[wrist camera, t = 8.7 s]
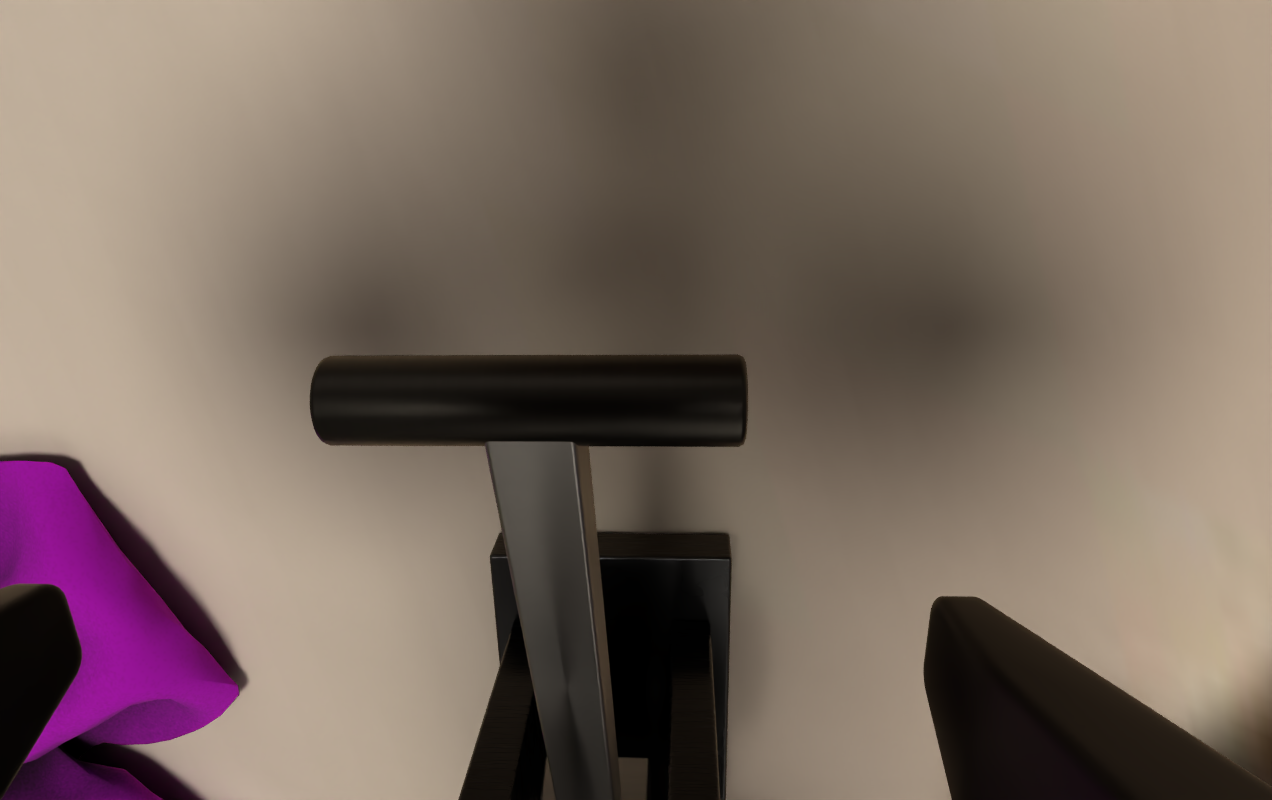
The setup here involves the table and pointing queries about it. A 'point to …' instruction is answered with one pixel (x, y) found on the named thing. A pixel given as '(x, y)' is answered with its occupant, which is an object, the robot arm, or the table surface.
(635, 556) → the bracket
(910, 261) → the table surface
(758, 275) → the table surface
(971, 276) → the table surface
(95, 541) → the cloth
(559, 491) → the lever
